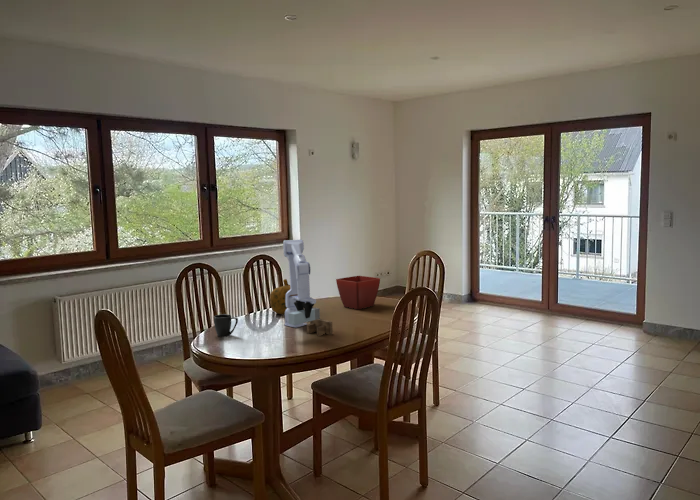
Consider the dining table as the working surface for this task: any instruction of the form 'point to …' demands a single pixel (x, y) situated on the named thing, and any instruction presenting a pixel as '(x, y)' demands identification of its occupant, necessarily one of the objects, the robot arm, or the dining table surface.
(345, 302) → the plant pot
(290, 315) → the rail
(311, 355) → the dining table surface
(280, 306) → the decorative pumpkin
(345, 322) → the dining table surface
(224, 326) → the mug
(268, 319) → the dining table surface
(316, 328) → the plank with two pegs
